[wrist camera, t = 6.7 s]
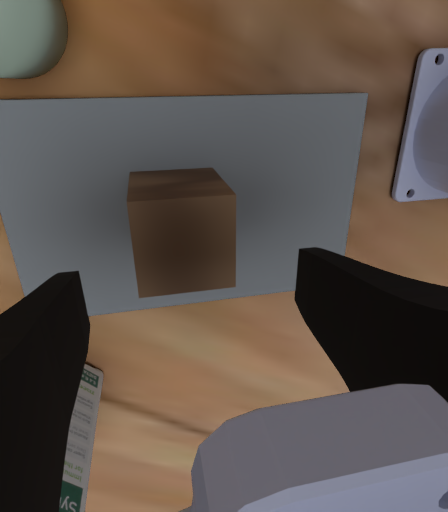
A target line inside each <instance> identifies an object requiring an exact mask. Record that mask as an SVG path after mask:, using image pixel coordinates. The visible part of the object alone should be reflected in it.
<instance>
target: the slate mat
mask: <svg viewBox="0 0 448 512" xmlns="http://www.w3.org/2000/svg"><path fill="white" fill-rule="evenodd" d="M367 98H368V93H317V94H264V95H211V96H158V97H105V98H52V99H0V213H1V216H2V220H3V223H4V226H5V230H6V233H7V237H8V240H9V244H10V247H11V251H12V254H13V257H14V261H15V264H16V268H17V271H18V275H19V278H20V282H21V285H22V288H23V292H24V295H25V297H26V296H27V295H28V294H29V293H31V292H32V291H33V290H35V289H36V288H37V287H39V286H40V285H41V284H42V283H44V282H45V281H46V280H48V279H49V278H50V277H52V276H53V275H55V274H57V273H60V272H70V271H79V274H80V279H81V284H82V289H83V293H84V298H85V303H86V308H87V313H88V316H93V315H101V314H109V313H117V312H125V311H133V310H142V309H150V308H158V307H166V306H174V305H182V304H190V303H198V302H206V301H214V300H222V299H230V298H238V297H246V296H255V295H263V294H271V293H279V292H287V291H295V288H296V277H297V265H298V253H299V249H301V248H311V247H318V248H322V249H326V250H329V251H332V252H335V253H337V254H340V255H343V256H344V255H345V248H346V241H347V235H348V228H349V221H350V214H351V207H352V200H353V194H354V187H355V180H356V173H357V166H358V159H359V153H360V146H361V139H362V132H363V125H364V118H365V112H366V105H367ZM193 168H213V169H214V170H215V171H216V172H217V173H218V174H219V176H220V177H221V178H222V179H223V180H224V181H225V182H226V183H227V185H228V186H229V187H230V188H231V189H232V190H233V191H234V193H235V194H236V287H233V288H224V289H215V290H207V291H198V292H189V293H181V294H172V295H164V296H155V297H146V298H139V295H138V287H137V279H136V272H135V264H134V256H133V248H132V241H131V233H130V225H129V217H128V210H127V193H128V183H129V174H130V172H136V171H155V170H174V169H193Z"/></svg>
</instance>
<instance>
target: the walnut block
mask: <svg viewBox="0 0 448 512" xmlns="http://www.w3.org/2000/svg"><path fill="white" fill-rule="evenodd" d="M127 210H128V217H129V225H130V233H131V241H132V248H133V256H134V264H135V272H136V279H137V287H138V295H139V298H146V297H155V296H164V295H172V294H181V293H189V292H198V291H207V290H215V289H224V288H233V287H236V194H235V193H234V191H233V190H232V189H231V188H230V187H229V186H228V185H227V183H226V182H225V181H224V180H223V179H222V178H221V177H220V176H219V174H218V173H217V172H216V171H215V170H214V169H213V168H193V169H174V170H155V171H136V172H130V174H129V183H128V193H127Z"/></svg>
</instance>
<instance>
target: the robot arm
mask: <svg viewBox="0 0 448 512" xmlns="http://www.w3.org/2000/svg"><path fill="white" fill-rule="evenodd" d="M437 55H438V62H437V63H435V58H436V56H437ZM409 190H410V193H409V194H408V195H407V192H408V191H409ZM392 198H393V199H394V200H396V201H398V202H407V201H419V200H431V199H443V198H448V48H430V49H425V50H424V51H422V52H421V54H420V55H419V57H418V60H417V65H416V71H415V76H414V81H413V86H412V91H411V97H410V102H409V107H408V112H407V117H406V123H405V128H404V133H403V138H402V143H401V148H400V154H399V159H398V164H397V169H396V174H395V180H394V185H393V190H392ZM295 302H296V304H297V306H298V308H299V311H300V313H301V315H302V317H303V319H304V321H305V323H306V324H307V326H308V327H309V329H310V330H311V332H312V333H313V335H314V336H315V338H316V339H317V341H318V342H319V344H320V345H321V347H322V348H323V350H324V351H325V353H326V354H327V355H328V357H329V358H330V360H331V361H332V363H333V364H334V366H335V367H336V369H337V370H338V372H339V373H340V375H341V376H342V378H343V380H344V381H345V383H346V385H347V387H348V389H349V391H350V392H348V393H342V394H337V395H331V396H325V397H320V398H314V399H309V400H303V401H298V402H292V403H286V404H281V405H275V406H270V407H264V408H259V409H255V410H253V411H250V412H247V413H245V414H242V415H239V416H237V417H234V418H231V419H229V420H226V421H225V422H224V423H223V424H222V425H221V426H220V427H219V428H218V429H216V430H215V431H214V432H213V433H212V434H211V435H210V436H209V437H208V438H207V439H206V440H204V441H203V442H202V443H201V444H200V445H199V447H198V451H197V454H196V457H195V460H194V463H193V467H192V470H191V475H192V487H193V500H192V506H190V507H188V508H186V509H183V510H181V511H179V512H448V287H445V286H440V285H436V284H431V283H427V282H423V281H419V280H415V279H411V278H407V277H403V276H400V275H397V274H394V273H390V272H387V271H384V270H381V269H378V268H375V267H372V266H370V265H367V264H364V263H361V262H359V261H356V260H353V259H351V258H348V257H345V256H343V255H340V254H337V253H335V252H332V251H329V250H326V249H322V248H318V247H311V248H301V249H299V253H298V265H297V277H296V288H295ZM89 333H90V322H89V317H88V313H87V308H86V303H85V298H84V293H83V289H82V284H81V279H80V274H79V271H70V272H60V273H57V274H55V275H53V276H52V277H50V278H49V279H48V280H46V281H45V282H44V283H42V284H41V285H40V286H39V287H37V288H36V289H35V290H33V291H32V292H31V293H29V294H28V295H27V296H26V297H24V298H23V299H22V300H20V301H19V302H18V303H16V304H15V305H13V306H12V307H10V308H9V309H8V310H6V311H5V312H3V313H2V314H0V512H59V506H60V497H61V488H62V480H63V471H64V463H65V455H66V448H67V440H68V433H69V427H70V422H71V417H72V413H73V409H74V405H75V401H76V397H77V393H78V389H79V385H80V381H81V377H82V373H83V369H84V365H85V361H86V357H87V353H88V344H89Z"/></svg>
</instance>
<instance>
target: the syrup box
mask: <svg viewBox="0 0 448 512" xmlns="http://www.w3.org/2000/svg"><path fill="white" fill-rule="evenodd" d="M102 384H103V372H102V371H101V370H99V369H96V368H92V367H91V366H89V365H87V364H85V365H84V369H83V373H82V377H81V381H80V385H79V389H78V393H77V397H76V401H75V405H74V409H73V413H72V417H71V422H70V427H69V433H68V440H67V448H66V455H65V463H64V471H63V480H62V488H61V497H60V506H59V512H85V506H86V498H87V490H88V482H89V475H90V467H91V459H92V451H93V444H94V436H95V429H96V422H97V414H98V408H99V402H100V397H101V390H102Z"/></svg>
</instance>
